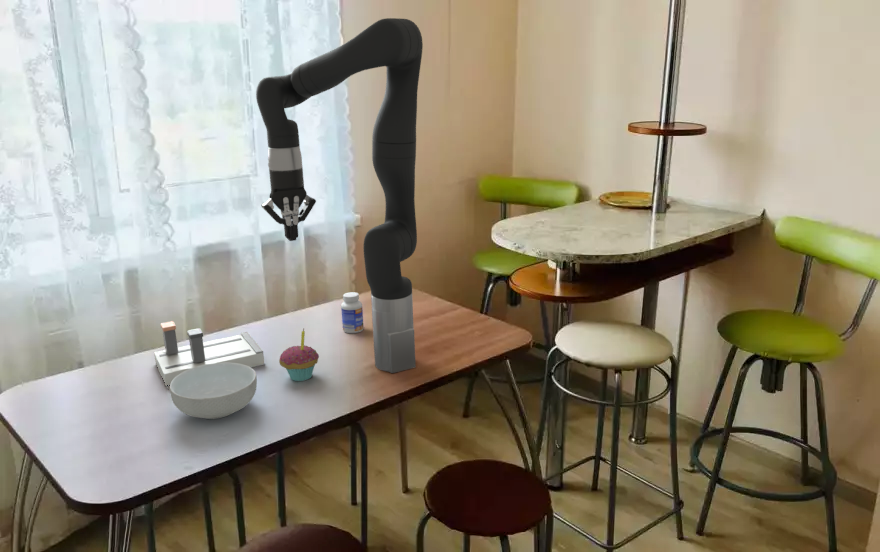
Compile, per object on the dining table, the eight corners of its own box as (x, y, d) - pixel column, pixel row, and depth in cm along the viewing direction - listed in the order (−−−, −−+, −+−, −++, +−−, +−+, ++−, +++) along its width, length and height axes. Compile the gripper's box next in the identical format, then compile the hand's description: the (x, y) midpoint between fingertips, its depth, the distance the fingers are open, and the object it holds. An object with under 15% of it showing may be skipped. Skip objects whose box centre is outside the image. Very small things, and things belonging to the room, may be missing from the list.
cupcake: (327, 372, 166) (323, 322, 163) (305, 388, 159) (301, 336, 155) (295, 366, 170) (291, 317, 166) (273, 381, 162) (268, 331, 159)
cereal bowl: (213, 439, 139) (208, 405, 137) (156, 418, 148) (151, 386, 146) (276, 402, 153) (273, 371, 151) (221, 385, 161) (217, 355, 159)
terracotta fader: (179, 353, 170) (175, 325, 168) (166, 356, 169) (162, 328, 167) (176, 348, 173) (172, 321, 171) (164, 350, 172) (160, 323, 170)
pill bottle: (360, 334, 188) (357, 298, 185) (339, 333, 189) (337, 297, 186) (366, 326, 193) (364, 291, 190) (346, 325, 194) (344, 290, 191)
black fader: (206, 361, 166) (202, 332, 164) (193, 364, 164) (189, 335, 162) (203, 356, 169) (199, 328, 166) (190, 358, 167) (186, 330, 165)
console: (264, 364, 171) (263, 350, 170) (166, 386, 161) (163, 372, 160) (248, 344, 183) (247, 331, 182) (155, 363, 173) (153, 350, 172)
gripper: (261, 171, 162) (269, 247, 167) (318, 165, 168) (324, 239, 173) (252, 167, 168) (260, 240, 173) (307, 161, 174) (313, 232, 179)
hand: (292, 239), depth 173 cm, fingers closed
